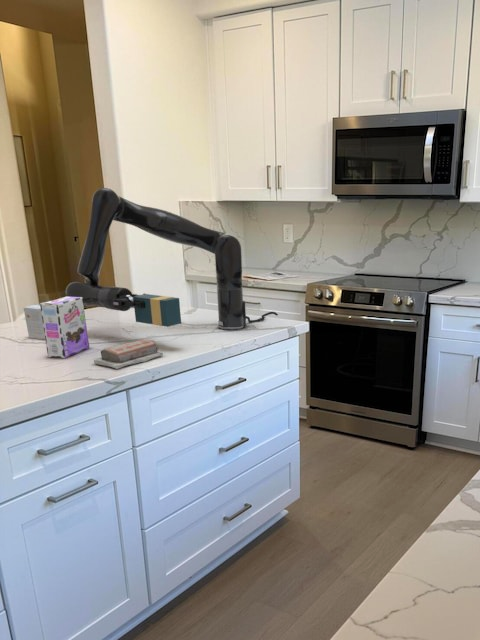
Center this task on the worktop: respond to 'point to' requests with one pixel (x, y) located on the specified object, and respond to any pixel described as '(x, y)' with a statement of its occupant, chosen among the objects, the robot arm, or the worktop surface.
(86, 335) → the candy box
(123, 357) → the packaged product
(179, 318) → the tea box
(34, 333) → the small box
